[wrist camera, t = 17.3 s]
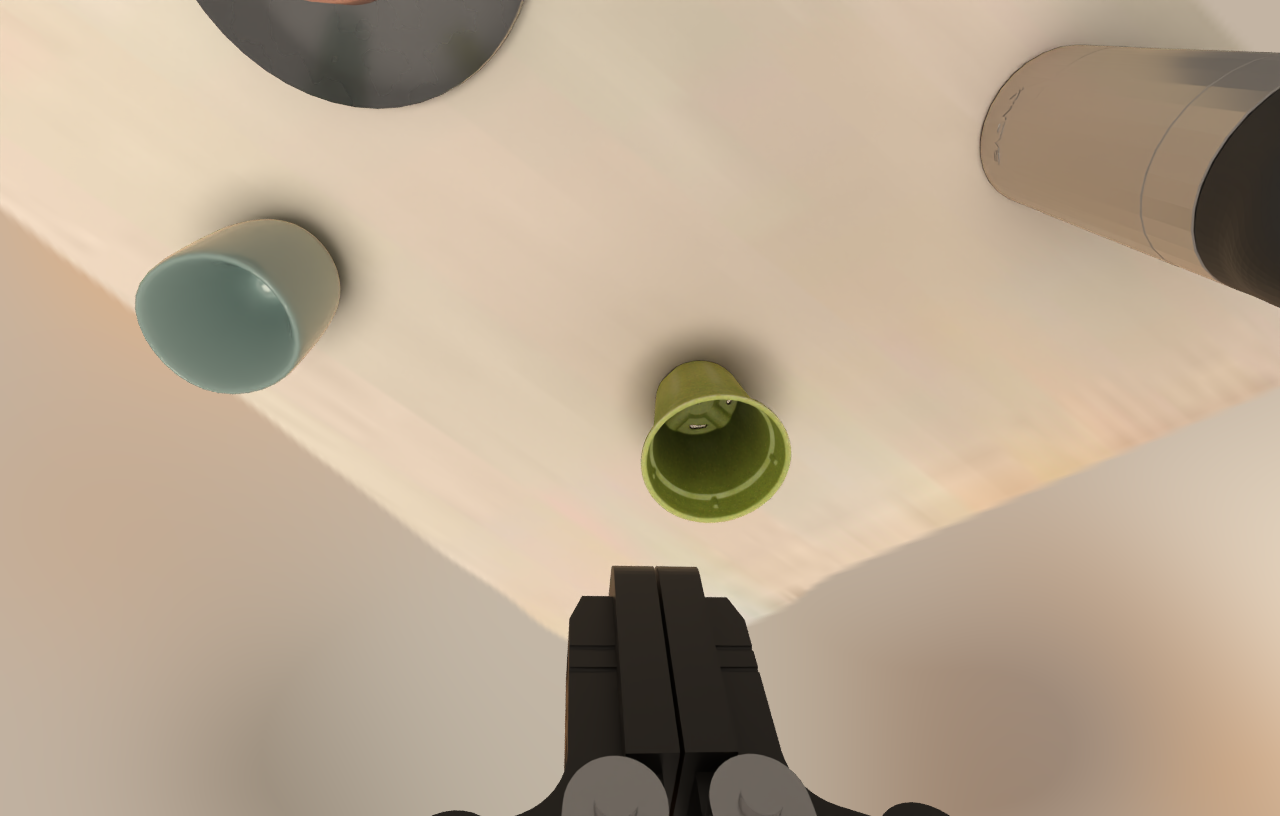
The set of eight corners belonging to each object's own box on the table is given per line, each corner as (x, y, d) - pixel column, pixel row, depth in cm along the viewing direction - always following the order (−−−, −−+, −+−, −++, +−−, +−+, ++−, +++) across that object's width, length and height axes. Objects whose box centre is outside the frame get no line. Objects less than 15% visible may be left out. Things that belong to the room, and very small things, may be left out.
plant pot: (637, 458, 53) (647, 531, 45) (626, 345, 48) (635, 404, 40) (759, 444, 53) (789, 514, 45) (759, 331, 48) (793, 387, 41)
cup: (197, 229, 42) (97, 282, 33) (313, 186, 41) (243, 229, 33) (269, 340, 46) (197, 414, 37) (377, 303, 45) (329, 369, 36)
